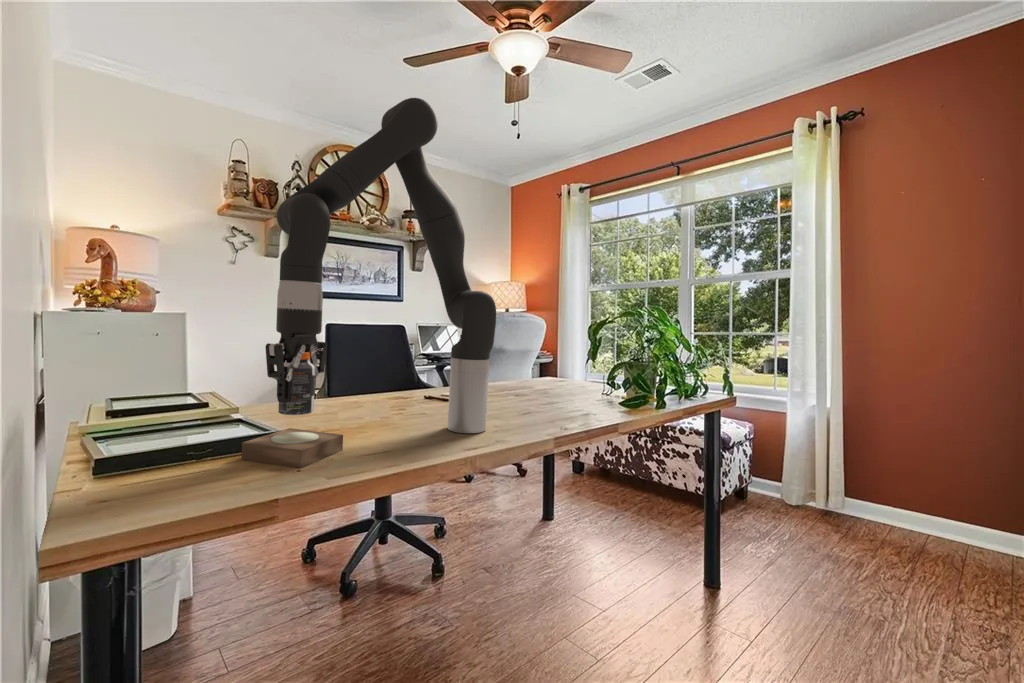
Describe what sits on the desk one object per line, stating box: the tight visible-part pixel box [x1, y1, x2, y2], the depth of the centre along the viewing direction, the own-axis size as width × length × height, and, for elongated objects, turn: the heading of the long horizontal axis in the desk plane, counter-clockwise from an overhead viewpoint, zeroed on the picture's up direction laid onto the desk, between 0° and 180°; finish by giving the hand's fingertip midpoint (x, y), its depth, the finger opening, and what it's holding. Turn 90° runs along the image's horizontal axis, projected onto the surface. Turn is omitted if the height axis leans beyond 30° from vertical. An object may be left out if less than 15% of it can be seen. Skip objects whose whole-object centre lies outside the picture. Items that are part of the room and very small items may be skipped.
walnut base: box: [241, 428, 344, 469], centre depth 87 cm, size 12×12×3 cm
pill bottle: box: [277, 352, 316, 416], centre depth 86 cm, size 6×6×11 cm
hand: (296, 398), depth 86 cm, fingers closed on pill bottle, 6 cm apart
